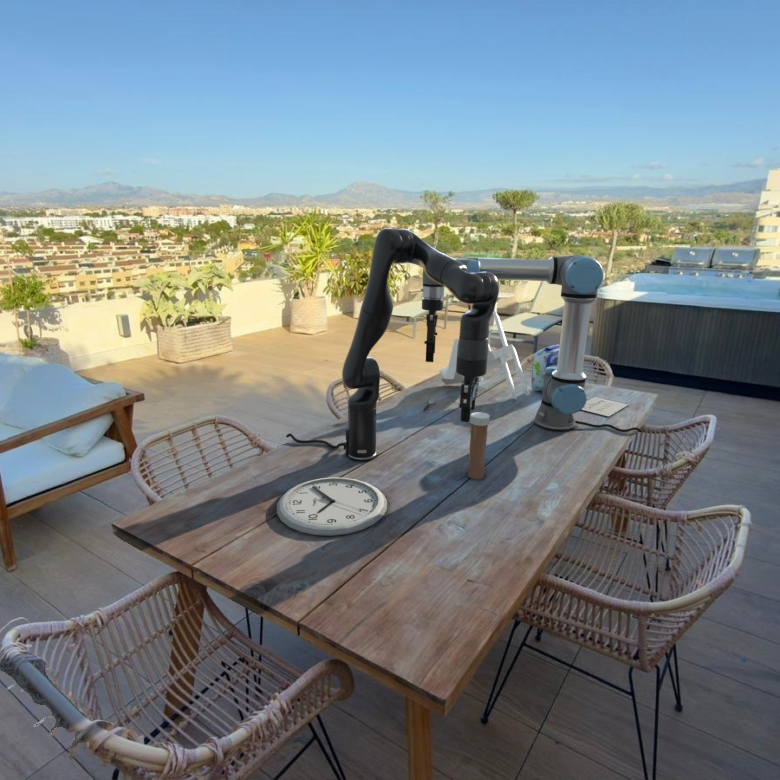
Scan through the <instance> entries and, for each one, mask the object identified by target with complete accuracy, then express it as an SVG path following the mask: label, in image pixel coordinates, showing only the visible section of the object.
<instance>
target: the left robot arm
mask: <svg viewBox="0 0 780 780" xmlns="http://www.w3.org/2000/svg"><path fill="white" fill-rule="evenodd" d="M442 253H443V252H440V251H439V250H437V249H436V248H434V247H433V246H431V245H430V244H428V243H427V242H426V241H424V240H423V239H422V238H420V236H418V235H417V234H416V233H414V232H413V231H411V230H409V229H407V228H393V227H385V228H382V229H380V231H379V232H378V233H377V234H376V237H375V240H374V244H373V248H372V253H371V254H372V255H371V261H370V267H369V275H368V279H367V284H366V287H365V292H364V296H363V299H362V303H361V306H360V310H359V313H358V319H357V323H356V327H355V330H354V334H353V337H352V340H351V344H350V347H349V349H348V352H347V355H346V357H345V360H344V363H343V365H342V371H341V379H342V382H343V385H344V386H345V387H346V388H348V389H351V390H355V392H354V393H352V394H351V395H350V396H349V397H348V398H347V428H346V429H345V441H344V442H340V443H338V444H336V445H333V444H332V443H330V442H328V441H326V440H323V439H310V440H309V439H308V440H307V439H305V440H303V439H298V438H296V437H295V436H294V435H293V433H287V434H286V436H285V437H286V438H291V439H292V440H293V441H294V442H296V443H298V444H315V443H316V444H317V443H318V444H324V445H326V446H328V447H329V448H331V449H334V450H336V449H339V448H340V447H343V450H344V451H345V457H347V458H349V459H351V460H353V461H358V462H365V461H371V460H373V459H375V458H376V457H377V402H378V400H379V396H380V381H381V372H380V370H381V369H380V366H379V363H378V361H377V360H376V359H375V358H374V357H372V356H369V354H370V352H371V351H372V350H373V348H374V347H375V346H376V345H377V343H378V342H379V341H380V340H381V338H382V337H383V336H384V334H385V333H386V332H387V330H388V327H389V325H390V322H391V318H392V315H393V311H394V302H393V298H392V295H391V291H390V288H389V275H390V272H391V268H392V266H393V264H413V265H416V266H419V267H421V268H422V270H423V269H424V271H425V273H426V274H427V276H428V277H429V278H431V279H432V280H433V281H435V282H437V283H438V284H440V285H442V286H444V288H446V289H447V291H449V292H450V293H451V294H452V296H453V297H454V298H455V299H456V300H458V301H459V302H462V303H464V304H470V305H471V304H472V305H471V307H470V309H468V310H467V311H466V312H464V313H462V314H461V316H460V318H459V319H460V321H459V334H458V335H459V336H458V339H459V341H458V347H457V362H456V372H457V373H458V374H460V375H463V376H464V377H465V378H463V381H462V382H461V383H460V396H459V404H458V407H459V409H460V422H462V423H470V416H471V411H474V410H475V409H476V398H477V395H478V390H479V385H480V382H479V377H480V376H483V375H485V374H486V370H487V358H488V344H489V332H490V322H491V318H492V315H493V312H494V310H495V308H496V304H497V302H498V298H499V294H500V285H499V284H500V283H499V280H497V278H496V276H495V275H494V274H493V273H491V272H476V273H468V270H467V268H466V266H465V265H464V264H462V263H461V262H459V261H457V260H456V258H453V257H451V256H448V255H447V254H446V253H444V254H442ZM465 400H466V401H465Z"/></svg>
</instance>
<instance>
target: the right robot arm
mask: <svg viewBox="0 0 780 780" xmlns="http://www.w3.org/2000/svg"><path fill="white" fill-rule="evenodd" d="M441 253H442V254H445V253H444V252H441ZM455 260H457V261H459V262H461V263H462V264H464V265H465V266H466V268H467V270H468V273H476V272H491V273H493V274H494V275H495V276H496V278H497V280H498V281H500V280H501V281H526V282H527V281H531V282H546V283H547V284H548V285H557V286H561V289H560V298H561V299H562V300H563V303H564V305H563V313H562V322H561V330H560V339H559V345H560V346H559V355H558V364H557V366H553V367H547V368H546V369H545V373H544V382H543V392H542V391H541V393H542V394H541V402H540V405H539V407H538V410H537V411H536V413H535V417H534V424H535V425H536V426H537V427H539V428H542V429H544V430H549V431H556V432H567V431H572V430H574V429H575V428H576V424H578V425H582V426H588V427H591V428H605V427H607V428H611V429H613V430H615V431H618V432H621V433H628V432H631V431H637V432H639V433H643V430H642V429H641V428H639V427H637V426H634V427H633V426H632V427H630V428H625V429H622V428H619V427H617V426H614V425H612V424H610V423H609V424H608V423H601V424H593V423H589V422H585V421H579V420H576V418H575V417H576V416H575V414H576V413H579V412H580V411H582V410H581V409H582V408H583V407H584V406H585V404H586V401H588V397H587V392H586V389H585V388H586V383H587V382H586V381H587V375H586V374H585V373H584V371H583V369H584V361H585V355H586V347H587V339H588V338H587V337H588V330H589V324H590V318H591V317H590V316H591V308H592V303H593V302H594V301H596V300H597V298H598V294H599V293H598V291H599V288H601V285H602V284H603V281H604V269H603V267H602V265H601V264H600V262H599V261H597V260H596V259H595V258H594V257H592V256H587V255H581V254H574V255H573V254H572V255H565V256H551V257H549V258H548V259H545V258H544V259H543V258H542V259H541V258H540V259H539V258H501V257H500V258H497V257H496V258H495V257H494V258H492V257H466V256H460V257H457V258H455ZM420 292H421V293H422V294H421V296H422V299H421V309H422V310H423V311H428V313H426V316H425V320H426V340H424V342H423V343H424V344H425V362H426V363H434V359H435V357H434V356H435V353H436V338H437V337H436V336H438V332H437V329H436V328H437V324H438V318H439V315H438V314H437V311H438V312H439V311H442V310H444V299H443V298H444V297H445V287H444V286H442V285H440V284H438V283H437V282H435V281H433V280H432V279H431V278H429V277H428V276H427V274H426V273H425V271H424V269H423V268H422V288H420Z"/></svg>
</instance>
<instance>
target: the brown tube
mask: <svg viewBox="0 0 780 780" xmlns="http://www.w3.org/2000/svg"><path fill="white" fill-rule="evenodd" d="M488 426H489V424H488V425H485V426H478V425H474V424H472V423H471V422H470V438H469V450H468V451H469V454H468V468H467V476H468V478H470V479H473V480H482V479H483V478H484V477H485V465H486V452H487V451H486V450H487V441H488V440H487V439H488Z"/></svg>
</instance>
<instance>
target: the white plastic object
mask: <svg viewBox="0 0 780 780" xmlns="http://www.w3.org/2000/svg"><path fill="white" fill-rule="evenodd" d="M492 315H493V319H494V321H495V324H496V325H495V326H496V328H497V332H498V335H499V338H500V342H501V345H502V347H500V348H498V349H496V350H495V349H493V348H492V347H491V346H490V344H489V343H488V358H487V370H486V374H485V375H483V376H480V377H479V383H480V382H482V381H484V378H485V377H486V376H487V375H489V374H490V373H492V372H494V371H495V370H496V369H497V368H499V367H500V366H502V370H503V373H504V376H505V380H506V383H507V386H508V390H509V393H510V394H511V395H512V397H513V398H514V399H515V400H517V392H516V391H517V390H516V388H515V385H514V381H513V378H512V375H511V371H510V369H509V365H508V361H510V360H513V363H514V366H515V369H516V372H517V376H518V380H519V382H520V385H521V389H522V391H523V393H524V395H525V396H526V397H528V396H531V395H530V390H529V388H528V387H529V386H528V384H527V381H526V378H525V375H524V371H523V369H522V368H523V367H522V366H521V362H520V359H519V355H518V352H517V349H516V347H515V346H514V345H513V343H511V344H508V341H507V337H506V334H505V331H504V328H503V325H502V321H501V318H500V315H499V314H498V312H497V311H496V310H495V311H494V310H493V313H492ZM458 341H459V338H454V340H453V344H452V349H451V353H450V357H449V362H448V366H446V367H444V368H442V369H440V370H439V371H438V372H439V376H440V381H442V383H443V384H444V385H445V386H449V385H458V384H461V382H462V381H463V378H465V377H464V376H463V375H460V374H458V373H457V372H456V362H457V347H458Z"/></svg>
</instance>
